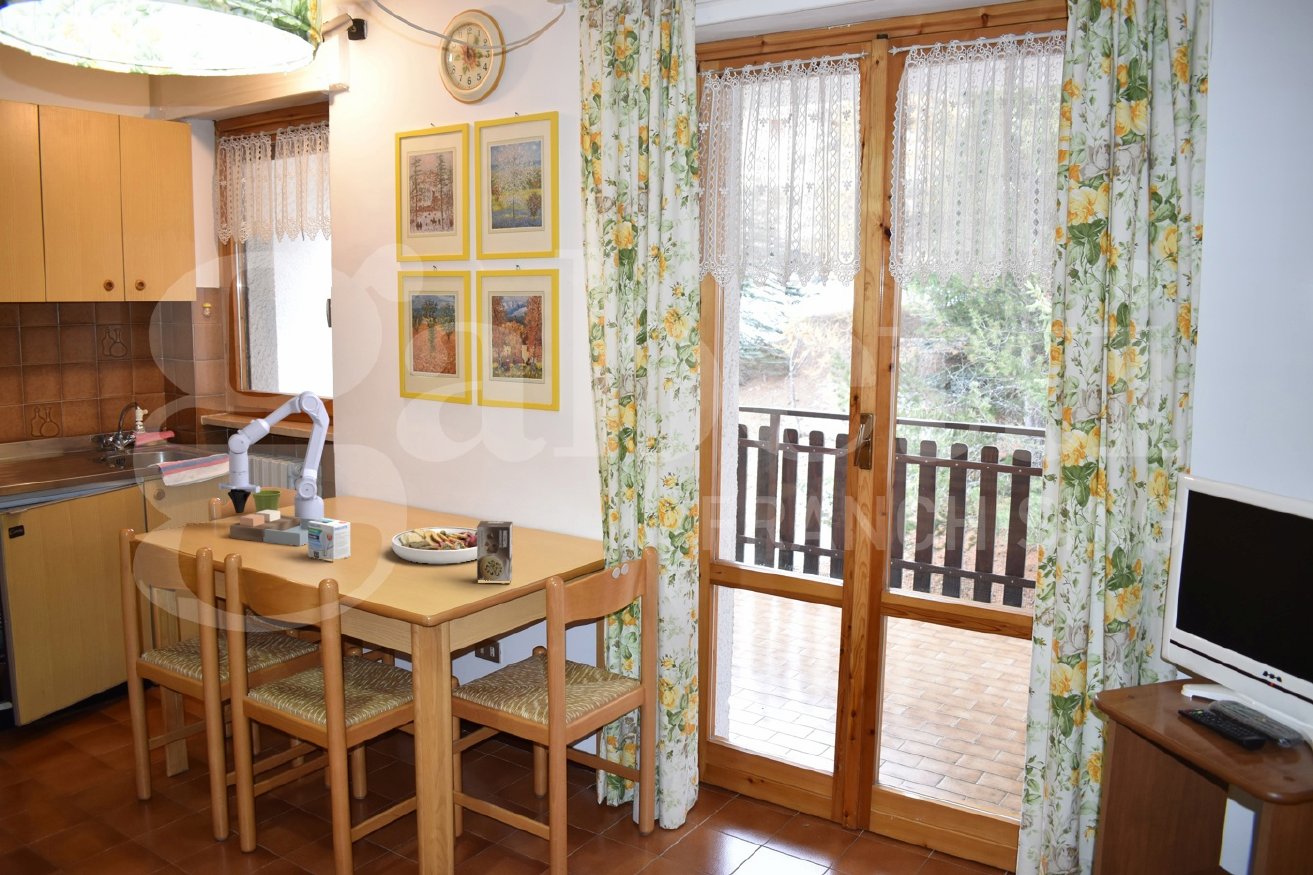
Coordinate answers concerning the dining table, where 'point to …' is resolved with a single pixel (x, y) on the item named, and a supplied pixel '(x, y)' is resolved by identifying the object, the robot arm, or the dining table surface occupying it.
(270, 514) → the cream tile
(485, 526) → the coffee box
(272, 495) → the plant pot
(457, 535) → the bowl
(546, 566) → the dining table surface
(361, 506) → the dining table surface
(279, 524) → the dark brown flat block
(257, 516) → the terracotta tile
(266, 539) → the box
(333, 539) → the light bulb box
